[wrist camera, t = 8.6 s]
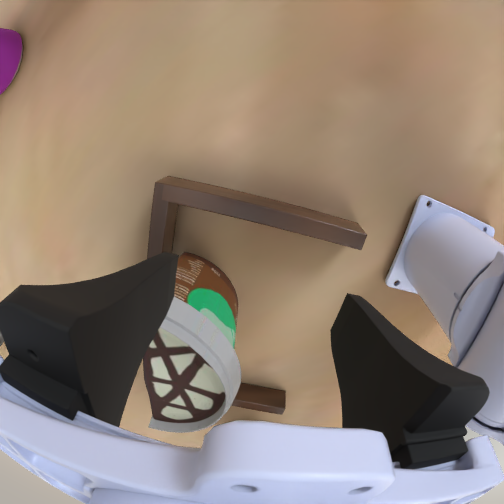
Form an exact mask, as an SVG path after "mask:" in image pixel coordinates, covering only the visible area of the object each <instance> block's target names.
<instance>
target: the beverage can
mask: <svg viewBox="0 0 504 504" xmlns="http://www.w3.org/2000/svg"><path fill="white" fill-rule="evenodd" d="M22 54H23V45H22V39H21V36H20V34H19V33H17V32H16V31H13V30H9V29H3V28H0V94H1V93H3V92H4V91H5V90H6V88H7V87H8V86H9V85H10V83H11V82H12V80H13V79H14V78H15V75H16V73H17V71H18V69H19V66H20V63H21V60H22Z"/></svg>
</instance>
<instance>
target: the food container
mask: <svg viewBox="0 0 504 504" xmlns="http://www.w3.org/2000/svg"><path fill="white" fill-rule="evenodd" d="M237 313H238V300H237V295H236V292H235V289H234V287H233V285H232V283H231V282H230V280H229V279H228V278H227V276H226V275H225V274H224V273H223V272H222V271H221V270H220V269H219V268H218V267H216V266H215V265H214V264H213V263H211V262H209V261H208V260H206V259H204V258H202V257H200V256H197V255H195V254H191V253H187V252H184V253H183V254H182V255H181V256H180V257H179V258H178V264H177V273H176V282H175V292H174V298H173V300H172V303H171V306H170V308H169V311H168V313H167V315H166V317H165V319H164V321H163V322H162V324H161V326H160V328H159V330H158V331H157V333H156V335H155V337H154V338H153V340H152V342H151V344H150V345H149V347H148V349H147V351H146V353H145V355H144V357H143V367H144V380H145V384H146V388H147V391H148V394H149V398H150V403H151V409H152V414H153V415H152V418H151V421H150V424H149V428H152V429H156V430H161V431H167V432H178V433H182V432H194V431H199V430H202V429H205V428H208V427H210V426H212V425H214V424H215V423H216V422H218V421H219V420H220V419H221V417H222V416H223V415H224V414H225V413H226V412H227V411H228V409H229V408H230V406H231V404H232V402H233V400H234V398H235V396H236V394H237V392H238V389H239V386H240V383H241V368H240V363H239V360H238V357H237V355H236V352H235V350H234V344H235V333H236V323H237Z"/></svg>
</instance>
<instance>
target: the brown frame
mask: <svg viewBox="0 0 504 504" xmlns="http://www.w3.org/2000/svg"><path fill="white" fill-rule="evenodd" d="M178 204H180V205H184V206H189V207H193V208H197V209H202V210H206V211H210V212H214V213H219V214H223V215H227V216H231V217H235V218H239V219H243V220H247V221H252V222H256V223H260V224H264V225H268V226H272V227H275V228H279V229H283V230H287V231H291V232H295V233H299V234H303V235H306V236H310V237H314V238H318V239H322V240H325V241H329V242H333V243H336V244H340V245H344V246H347V247H351V248H355V249H358V250H361V249H362V247H363V244H364V242H365V239H366V236H367V234H366V233H365V232H364V230H363V229H362V228H361V227H360V225H359V224H358V223H355V222H352V221H348V220H345V219H342V218H338V217H335V216H331V215H328V214H324V213H321V212H317V211H313V210H310V209H306V208H302V207H299V206H295V205H291V204H287V203H284V202H280V201H276V200H272V199H268V198H264V197H260V196H256V195H252V194H248V193H244V192H239V191H235V190H231V189H227V188H222V187H218V186H213V185H209V184H204V183H200V182H195V181H190V180H186V179H181V178H176V177H171V176H167V177H165V178H163V179H161V180H159V181H157V182H155V188H154V195H153V204H152V212H151V221H150V232H149V243H148V255H147V259H149V258H151V257H153V256H156V255H158V254H160V253H163V252H167V253H171V254H172V246H173V239H174V231H175V224H176V217H177V210H178ZM231 405H232V406H237V407H242V408H247V409H252V410H258V411H263V412H269V413H275V414H283V412H284V410H285V391H282V390H276V389H270V388H265V387H260V386H255V385H250V384H245V383H240V386H239V389H238V392H237V394H236V396H235V398H234V400H233V402H232V404H231Z"/></svg>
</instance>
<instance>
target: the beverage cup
mask: <svg viewBox="0 0 504 504" xmlns="http://www.w3.org/2000/svg"><path fill="white" fill-rule="evenodd" d="M3 342H4V340H3V337H2V334H1V331H0V346H1V345H2V344H3Z"/></svg>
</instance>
